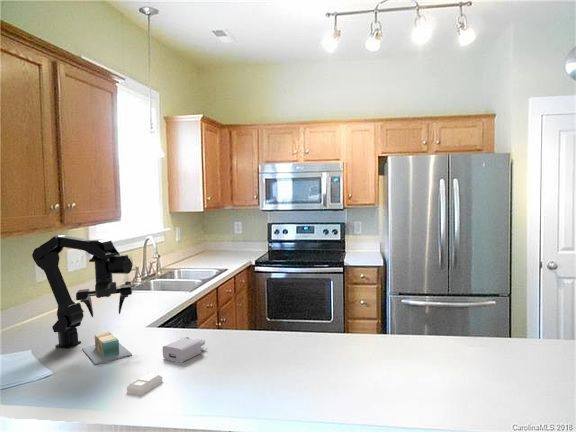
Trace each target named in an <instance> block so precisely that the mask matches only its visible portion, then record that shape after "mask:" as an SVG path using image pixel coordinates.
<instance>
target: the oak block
mask: <svg viewBox="0 0 576 432" xmlns="http://www.w3.org/2000/svg"><path fill="white" fill-rule="evenodd" d="M119 343H120V342H119V339H118V337H116V335H114V334H112V333H111V331H105V332H104V331H103V332H100V333H96V334H94V345H95V348H96V349H97V350H98V351H99V352H100V354H101V355H102V356H103V357H104V358H105V357H109V356H113V355H117V354H119Z"/></svg>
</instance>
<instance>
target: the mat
mask: <svg viewBox="0 0 576 432" xmlns="http://www.w3.org/2000/svg"><path fill="white" fill-rule="evenodd" d="M81 349H82V351H83V352H84V353H85V354H86V356H87V357H88V359H90V361H91V363H93V364H94V365H95V366H96V365H97V366H98V365H101V364H104V363H108V362H113V361H116V360H120V359H123V358H127V357H132V356H133V353H132V352H130V351H129V350H128V349H127V348H126V347H125V346H123V345H122V344H121V343H120V342H119V354H117V355H113V356H109V357H105V358H104V357H103V356H102V355H101V354H100V352H99V351H98V350H97V349H96V348H95V344H93V345H88V346H85V347H82V348H81Z"/></svg>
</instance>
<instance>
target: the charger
mask: <svg viewBox="0 0 576 432" xmlns="http://www.w3.org/2000/svg"><path fill="white" fill-rule="evenodd" d="M181 338H182V339H181ZM181 338H179V339H180V340H179V339H177V340H176V341H173V342H170V343H168V344H166V345H164V346H162V357H163V359H164V358H165V359H164V360H167V359H168V360H167V361H172V360H173V361H172V362H176V361H177V363H181V362H182V363H184V362H186V361H188V360H189V359H192V358H195V357H196V356H199V355H200V354H201V353H202V346H205V344H206V339H204V340H203V339H199V338H195V339H192V338H188V339H187V338H184V337H181Z"/></svg>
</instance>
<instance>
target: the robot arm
mask: <svg viewBox="0 0 576 432" xmlns="http://www.w3.org/2000/svg"><path fill="white" fill-rule="evenodd" d="M64 248H67V249H74V250H79V251H84V252H86V253H87V254H89V255H92V257H91V258H90V259H89V260H88V262H90V263H94V274H95V276H94V277H95V285H94V290H90V288H84V289H79V290H78V291H76V293H75V300H76V301H80V302H77V303H76V302H75V301H73V300H72V297H71V294H70V292H69V289H68V286H67V285H66V284H67V283H66V282H65V279H64V277H63V274H62V272H61V270H60V267H59V264H60V255H59V254H60V253H62V251H63V249H64ZM31 256H32V259H33V261H34V263H35V264H36V266H37V267H39V268H40V270H42V271H44V274H45V277H46V279H47V281H48V284H49V287H50V289H51V291H52V294H53V297H54V298H55V301H56V304H57V311H56V317H57V320H56V322H55V323H54V324H53V325H52V331H53V332H54V333H57V335H58V344H55V348H64V349H69V348H72V347H75V346H76V345H79V344H81V343H82V341H80V340H79V333H78V327H80V326H81V325H82V321H83V319H84V312H85V310H83V308H82V305H81V303H84V304H85V305H86V308H87V309H88V312H89V314H90V316H91V318H94V309H93V304H92V298H91V297H96V298H98V299H100V298H109V297H111V296H112V295H115V294H119V300H118V301H119V304H118V314H119V315H120V314H121V311H122V309H123V304H124V301H125V299H127V298H128V297H129V296H130V295H133V289H132V288H133V287H132V285H131V284H126V285H125V284H123V285H120V287H118V288H117V282H116V281H113V274H114V275H117V274H118V275H120V274H121V275H122V274H123V275H125V274H126V275H127V274H130V273H131V272H132V270H133V262H132V259H130V258H129V255H128V254H124V255H123V254H122V255H121V254H120V252H119V251H118V250H117V249H116V247H115V246H114V244H113V242H112V240H111V239H108V238H107V239H106V238H103V239H101V238H100V239H99V238H98V239H87V238H80V237H75V236H69V235H65V234H60V235H54V236H52V237H51V238H50V239H49V240H47V241H46V242H44V243H42V244H41V245H39V247H36V248H34V250H33V251H32V254H31Z"/></svg>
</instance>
